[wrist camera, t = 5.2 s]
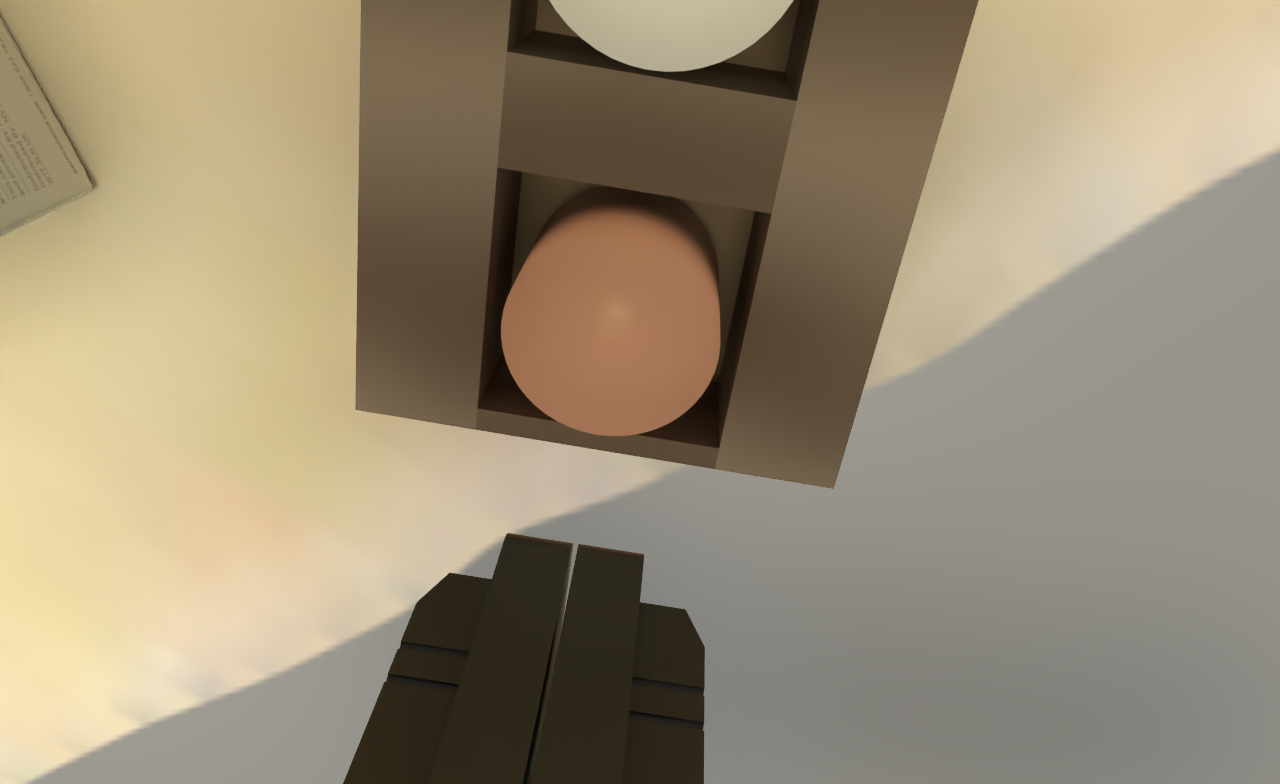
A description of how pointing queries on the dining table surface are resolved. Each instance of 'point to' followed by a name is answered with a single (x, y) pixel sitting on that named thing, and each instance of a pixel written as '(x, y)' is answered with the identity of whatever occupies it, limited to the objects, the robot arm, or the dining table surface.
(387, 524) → the dining table surface
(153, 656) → the dining table surface
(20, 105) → the supplement box
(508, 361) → the terracotta button
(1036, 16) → the dining table surface
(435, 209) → the frame
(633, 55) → the cream pill shape
